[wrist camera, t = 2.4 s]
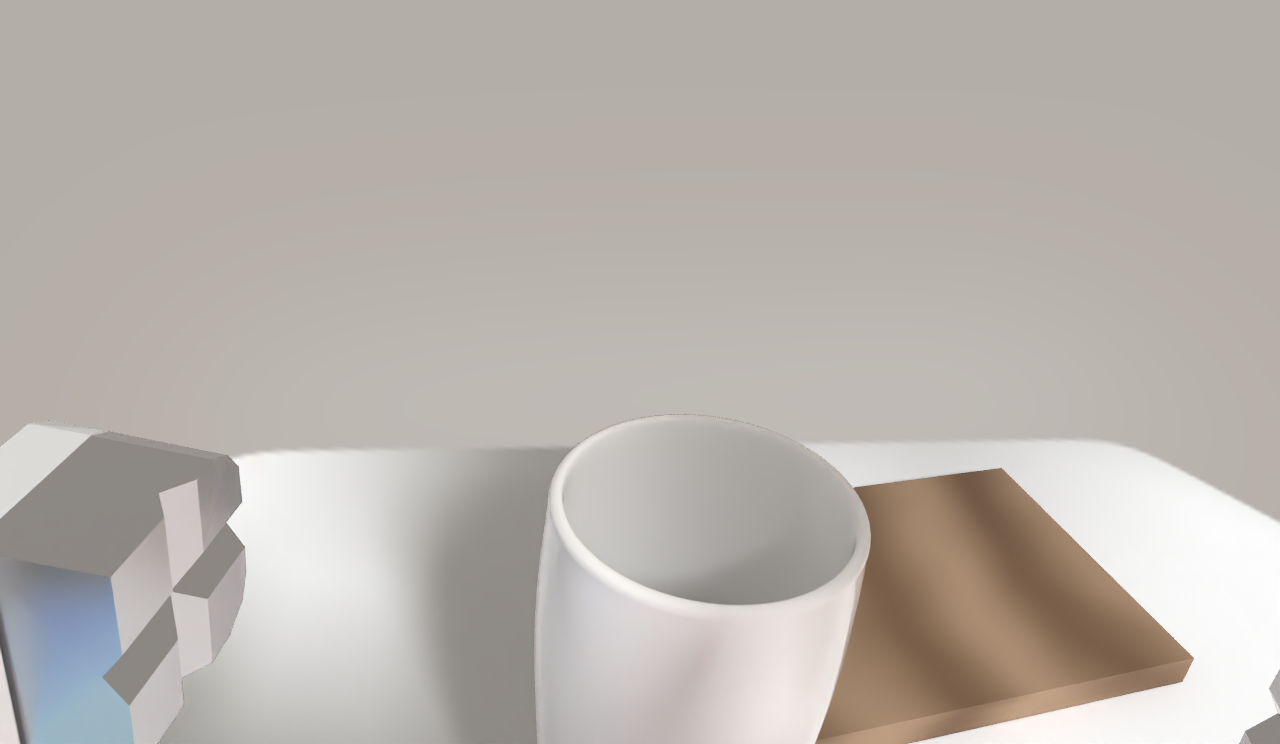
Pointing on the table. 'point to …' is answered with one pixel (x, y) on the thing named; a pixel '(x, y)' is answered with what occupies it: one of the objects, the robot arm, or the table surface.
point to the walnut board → (983, 617)
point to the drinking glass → (694, 586)
